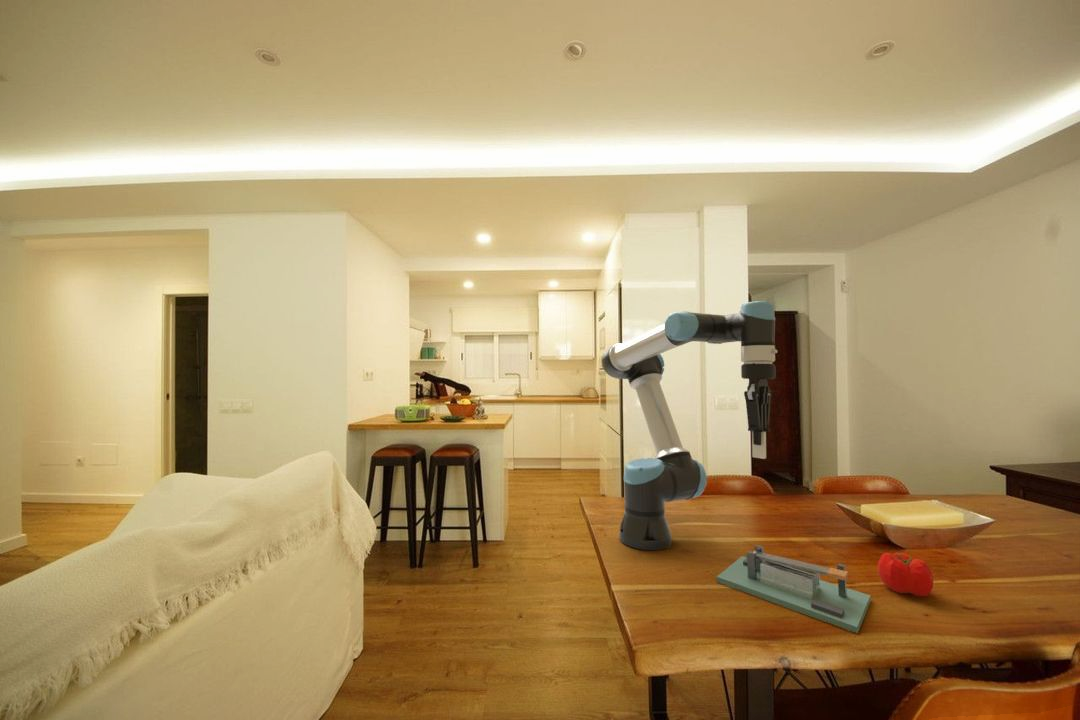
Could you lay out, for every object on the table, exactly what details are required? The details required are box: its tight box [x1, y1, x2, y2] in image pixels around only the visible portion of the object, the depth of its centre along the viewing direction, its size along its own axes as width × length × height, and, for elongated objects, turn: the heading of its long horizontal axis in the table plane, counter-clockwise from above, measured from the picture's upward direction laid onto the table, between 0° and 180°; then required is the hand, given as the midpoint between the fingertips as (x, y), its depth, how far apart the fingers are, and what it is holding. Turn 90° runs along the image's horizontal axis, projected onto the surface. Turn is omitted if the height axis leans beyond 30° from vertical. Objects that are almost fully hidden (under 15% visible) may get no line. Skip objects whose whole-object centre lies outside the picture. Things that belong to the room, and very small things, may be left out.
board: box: [716, 555, 872, 634], centre depth 87 cm, size 26×16×2 cm, turn 43°
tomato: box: [877, 552, 934, 597], centre depth 87 cm, size 9×9×8 cm
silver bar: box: [746, 544, 848, 600], centre depth 87 cm, size 17×8×6 cm, turn 43°
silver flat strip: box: [753, 549, 850, 582], centre depth 87 cm, size 18×3×1 cm, turn 43°
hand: (759, 457), depth 96 cm, fingers closed
